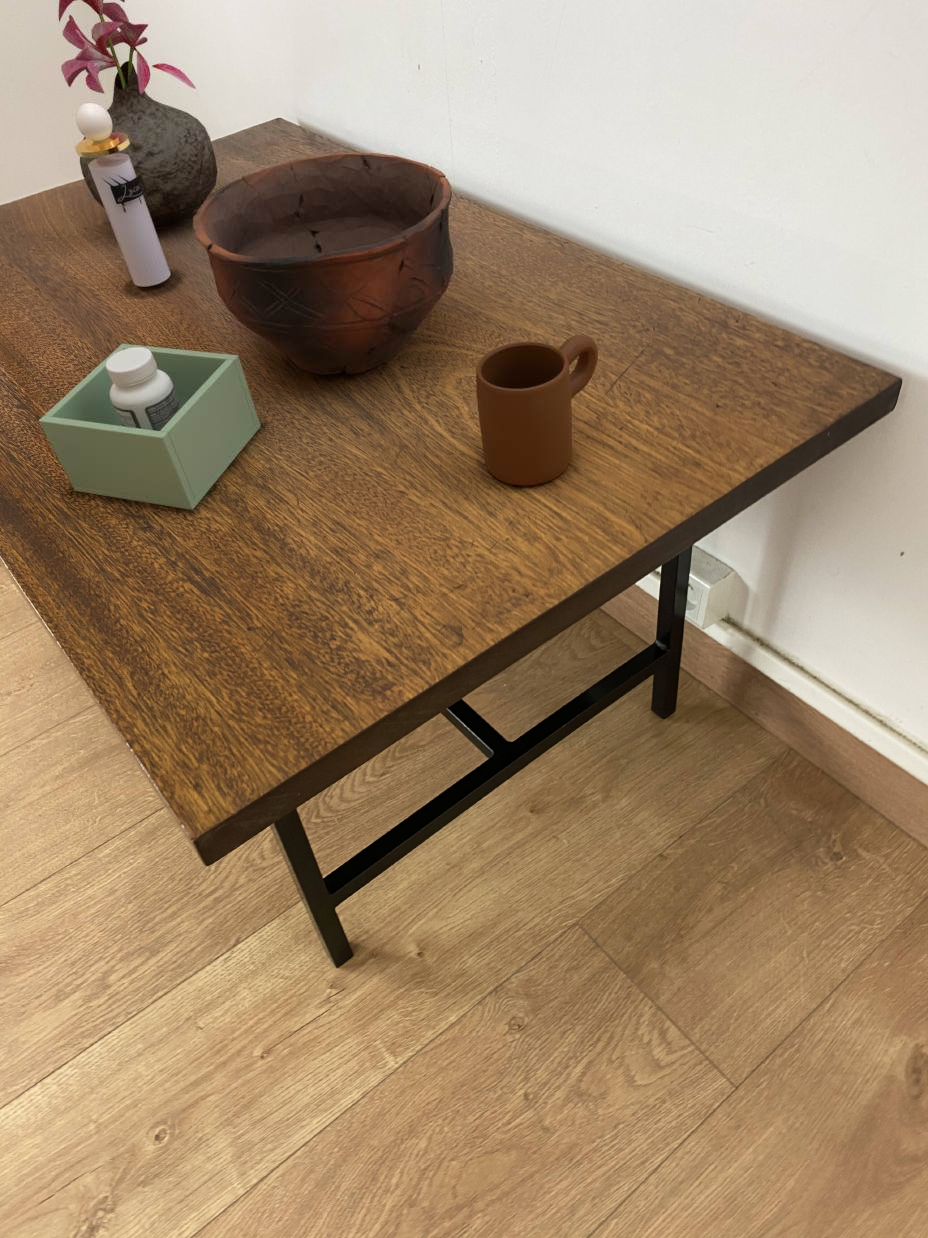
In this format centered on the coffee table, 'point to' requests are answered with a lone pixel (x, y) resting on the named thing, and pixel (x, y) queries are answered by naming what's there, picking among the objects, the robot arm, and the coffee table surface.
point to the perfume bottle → (121, 195)
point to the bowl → (331, 255)
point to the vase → (144, 119)
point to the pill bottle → (141, 390)
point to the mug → (531, 406)
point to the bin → (156, 432)
